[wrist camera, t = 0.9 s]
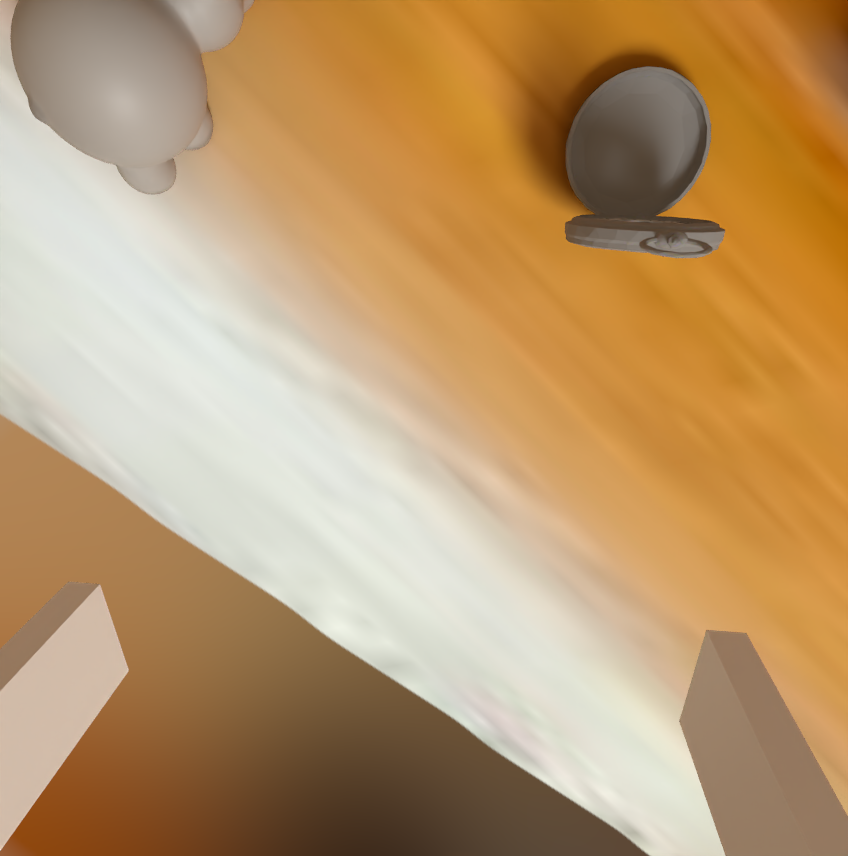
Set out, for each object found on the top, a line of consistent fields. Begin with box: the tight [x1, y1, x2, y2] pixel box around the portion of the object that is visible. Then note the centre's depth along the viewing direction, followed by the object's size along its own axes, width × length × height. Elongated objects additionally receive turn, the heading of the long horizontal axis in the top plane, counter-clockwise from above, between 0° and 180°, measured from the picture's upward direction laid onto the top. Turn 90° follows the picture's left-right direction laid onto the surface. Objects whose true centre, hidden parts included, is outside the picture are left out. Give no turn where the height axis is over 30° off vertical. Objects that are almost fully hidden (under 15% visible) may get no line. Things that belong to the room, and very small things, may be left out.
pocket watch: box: [565, 66, 725, 258], centre depth 23 cm, size 8×8×10 cm
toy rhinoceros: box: [11, 0, 254, 194], centre depth 24 cm, size 7×12×8 cm, turn 134°
